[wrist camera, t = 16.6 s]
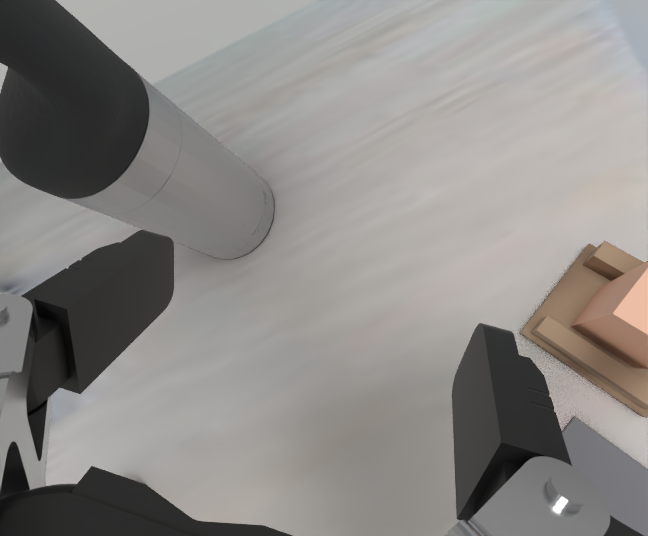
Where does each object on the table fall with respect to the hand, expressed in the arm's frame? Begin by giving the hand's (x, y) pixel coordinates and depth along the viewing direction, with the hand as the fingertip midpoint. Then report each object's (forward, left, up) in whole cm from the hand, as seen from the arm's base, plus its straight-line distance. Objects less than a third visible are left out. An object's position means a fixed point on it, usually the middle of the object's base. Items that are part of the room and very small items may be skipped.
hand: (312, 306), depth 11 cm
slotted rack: (+13, +4, -25) cm, 29 cm away
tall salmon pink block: (+13, +4, -24) cm, 28 cm away
